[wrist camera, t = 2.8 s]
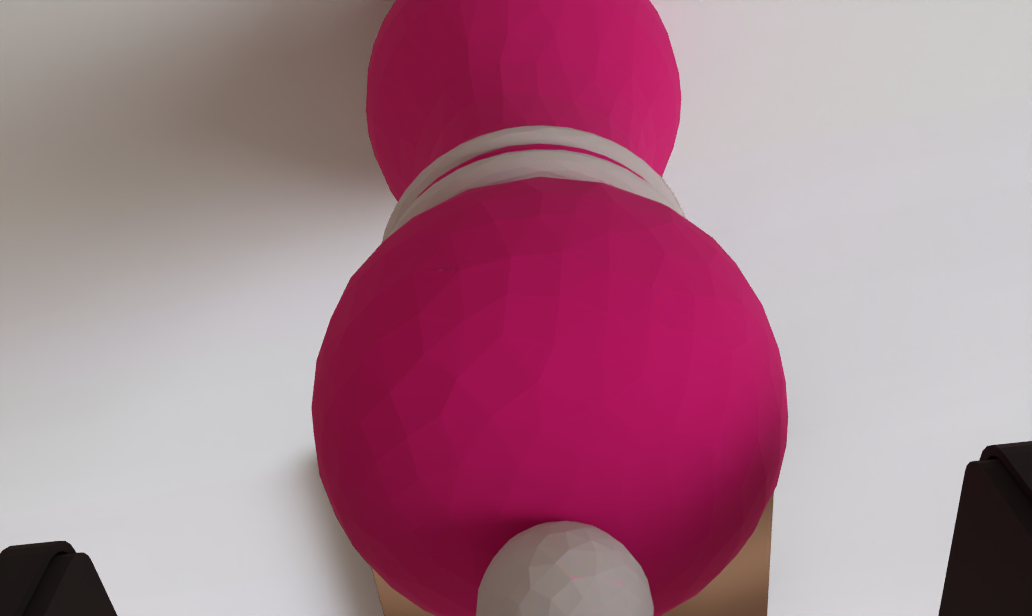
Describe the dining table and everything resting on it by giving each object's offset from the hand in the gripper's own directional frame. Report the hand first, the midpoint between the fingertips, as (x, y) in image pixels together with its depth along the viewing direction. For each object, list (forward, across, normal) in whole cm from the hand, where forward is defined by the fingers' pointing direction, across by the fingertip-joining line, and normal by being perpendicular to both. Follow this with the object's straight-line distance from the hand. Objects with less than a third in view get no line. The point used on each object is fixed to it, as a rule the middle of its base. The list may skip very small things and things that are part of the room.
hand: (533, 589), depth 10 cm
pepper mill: (+19, -1, -1) cm, 19 cm away
